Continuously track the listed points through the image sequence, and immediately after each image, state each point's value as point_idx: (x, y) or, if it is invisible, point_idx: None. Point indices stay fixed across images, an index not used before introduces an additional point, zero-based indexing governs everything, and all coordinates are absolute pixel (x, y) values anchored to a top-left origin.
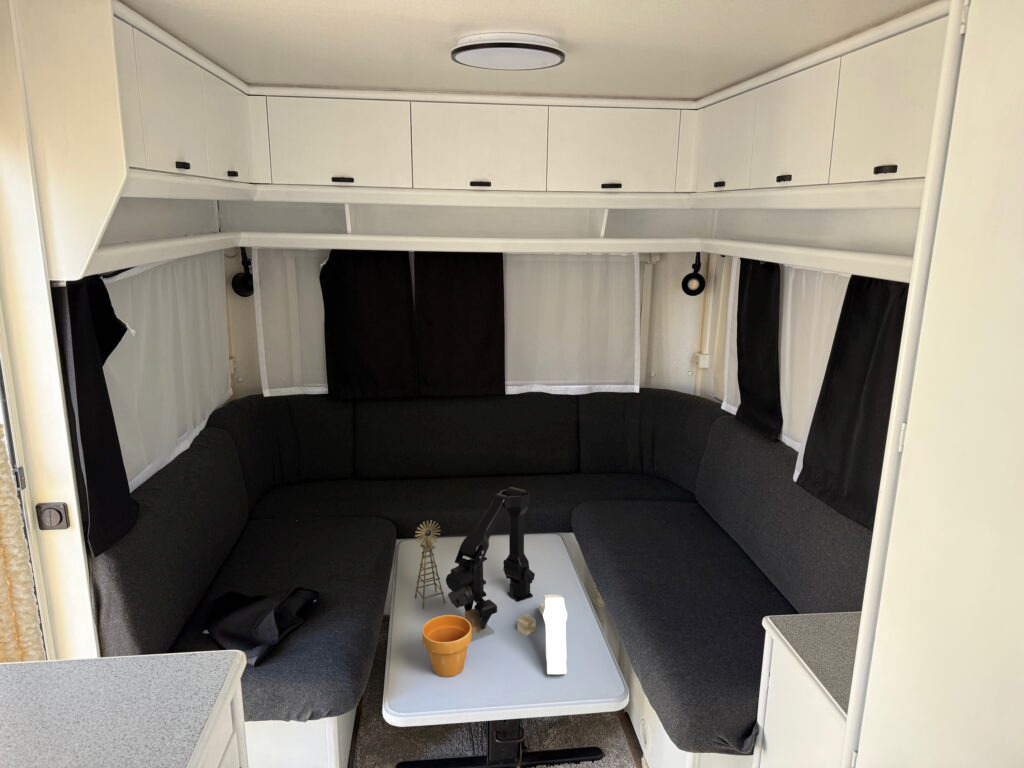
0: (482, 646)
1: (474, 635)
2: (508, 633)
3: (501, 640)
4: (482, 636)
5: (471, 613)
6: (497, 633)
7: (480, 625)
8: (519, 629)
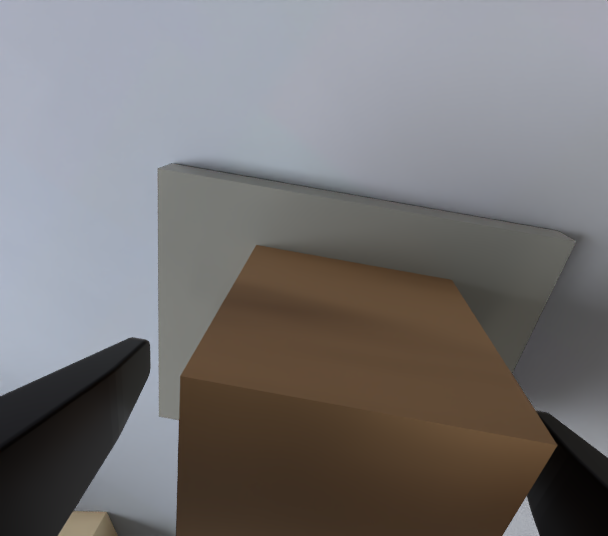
0: (27, 193)
1: (203, 238)
2: (107, 460)
3: (43, 374)
4: (164, 296)
5: (373, 488)
6: (154, 412)
7: (73, 371)
8: (77, 531)
